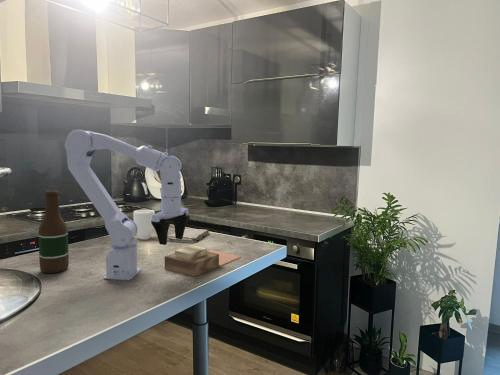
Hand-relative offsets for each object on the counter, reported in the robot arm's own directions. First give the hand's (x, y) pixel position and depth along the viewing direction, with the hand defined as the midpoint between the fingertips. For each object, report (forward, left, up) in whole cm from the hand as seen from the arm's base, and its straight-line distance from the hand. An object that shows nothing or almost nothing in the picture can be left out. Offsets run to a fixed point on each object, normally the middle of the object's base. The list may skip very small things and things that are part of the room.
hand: (171, 241), depth 109 cm
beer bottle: (-3, +35, -10) cm, 37 cm away
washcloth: (+42, +5, -10) cm, 44 cm away
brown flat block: (+5, -5, -10) cm, 12 cm away
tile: (+4, -5, -6) cm, 9 cm away
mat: (+16, -11, -10) cm, 21 cm away
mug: (+37, +21, -10) cm, 44 cm away
